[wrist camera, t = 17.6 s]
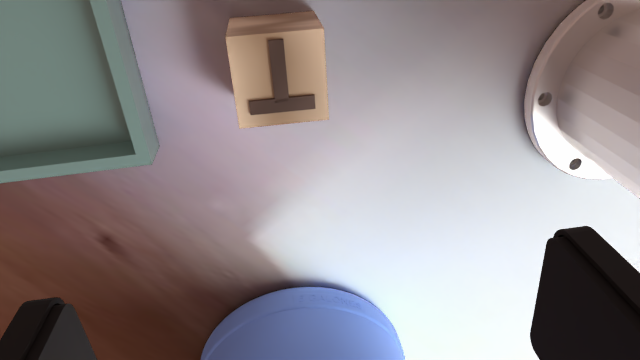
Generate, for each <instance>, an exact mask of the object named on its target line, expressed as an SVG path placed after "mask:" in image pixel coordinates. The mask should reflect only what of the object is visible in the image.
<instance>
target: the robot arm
mask: <svg viewBox="0 0 640 360" xmlns="http://www.w3.org/2000/svg"><path fill="white" fill-rule="evenodd" d="M524 109H525V122H526V126H527V130H528V134H529V136H530V138H531V140H532V142H533V144H534V146H535V148H536V149H537V150H538V151H539V152H540V153H541V155H542V156H543V157H544V158H545V159H546V160H548V161H549V162H550V163H551V164H553V165H554V166H555V167H556V168H557V169H559V170H561V171H563V172H565V173H566V174H569V175H572V176H576V177H580V178H584V179H600V180H602V179H609V178H613V179H614V180H616V181H617V182H618V183H620V184H621V185H622V186H624V187H625V188H626V189H628V190H629V191H630V192H632V193H633V194H634V195H636V196H637V197H638V198H640V0H586V1H585V2H583V3H582V4H581V5H579V6H578V7H577V8H576V9H575V10H574V11H572V12H571V13H570V14H569V15H568V16H567V17H566V18H565V19H564V20H563V21H562V22H561V23H560V24H559V26H558V27H557V28H556V30H555V31H554V32H553V33H552V35H551V36H550V37H549V39H548V40H547V41H546V43H545V45H544V46H543V48H542V50H541V52H540V54H539V55H538V57H537V59H536V61H535V63H534V66H533V68H532V71H531V74H530V77H529V79H528V83H527V89H526V94H525V100H524ZM530 338H531V343H532V346H533V349H534V351H535V353H536V354H537V356H538V358H539V359H540V360H640V273H639V272H638V271H637V270H636V269H635V268H634V267H633V266H632V265H631V264H630V263H628V262H627V261H626V260H625V259H624V258H623V257H622V256H621V255H620V254H619V253H618V252H617V251H616V250H615V249H614V248H613V247H612V246H611V245H610V244H609V243H607V242H606V241H605V240H604V239H603V238H602V237H601V236H600V235H599V234H598V233H597V232H596V231H595V230H594V229H592V228H591V227H588V226H583V227H575V228H568V229H560V230H558V231H557V232H556V233H555V234H554V237H553V238H550V239H549V240H548V241H547V244H546V249H545V255H544V260H543V266H542V271H541V277H540V282H539V288H538V293H537V299H536V304H535V310H534V315H533V321H532V326H531V332H530ZM0 360H97V358H96V356H95V354H94V352H93V349H92V347H91V345H90V342H89V340H88V338H87V336H86V333H85V331H84V329H83V327H82V324H81V322H80V320H79V318H78V315H77V313H76V311H75V309H74V307H73V306H72V305H71V304H65V303H64V302H63V300H62V299H60V298H48V299H41V300H33V301H27V302H25V303H23V304H22V305H21V307H20V308H19V310H18V311H17V313H16V315H15V316H14V318H13V320H12V321H11V323H10V325H9V326H8V328H7V330H6V331H5V333H4V335H3V336H2V338H1V340H0Z"/></svg>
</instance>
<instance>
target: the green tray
mask: <svg viewBox="0 0 640 360" xmlns="http://www.w3.org/2000/svg"><path fill="white" fill-rule="evenodd" d="M158 149H159V142H158V138H157V135H156V131H155V127H154V123H153V120H152V116H151V112H150V109H149V105H148V101H147V97H146V94H145V90H144V86H143V83H142V79H141V75H140V71H139V68H138V64H137V60H136V57H135V53H134V49H133V45H132V42H131V38H130V34H129V30H128V27H127V23H126V19H125V16H124V12H123V8H122V4H121V1H120V0H0V183H6V182H14V181H22V180H30V179H38V178H46V177H54V176H62V175H70V174H78V173H87V172H95V171H103V170H111V169H119V168H127V167H135V166H143V165H151V164H152V163H153V161H154V158H155V156H156V154H157V151H158Z"/></svg>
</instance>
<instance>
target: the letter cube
mask: <svg viewBox="0 0 640 360" xmlns="http://www.w3.org/2000/svg"><path fill="white" fill-rule="evenodd" d="M225 38H226V45H227V51H228V58H229V64H230V71H231V77H232V84H233V90H234V97H235V103H236V110H237V116H238V123H239V129H241V128H251V127H261V126H270V125H280V124H290V123H300V122H310V121H319V120H329V112H328V94H327V76H326V58H325V40H324V28H323V26H322V24H321V23H320V21H319V19H318V17H317V16H316V14H315V12H314V11H306V12H294V13H282V14H271V15H259V16H247V17H236V18H229V23H228V27H227V32H226V36H225Z"/></svg>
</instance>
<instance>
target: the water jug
mask: <svg viewBox="0 0 640 360" xmlns="http://www.w3.org/2000/svg"><path fill="white" fill-rule="evenodd" d="M201 360H405V356H404V352H403V349H402V346H401V343H400V340H399V337H398V335H397V332H396V330H395V328H394V327H393V325H392V323H391V322H390V321H389V319H388V318H387V317H386V316H385V315H384V314H383V313H382V312H381V311H380V310H379V309H378V308H377V307H375V306H374V305H373V304H371V303H370V302H368V301H366V300H364V299H362V298H360V297H358V296H356V295H354V294H351V293H348V292H345V291H341V290H337V289H331V288H324V287H297V288H289V289H284V290H279V291H275V292H272V293H268V294H265V295H263V296H260V297H258V298H255V299H253V300H251V301H249V302H247V303H245V304H244V305H242V306H240V307H239V308H237V309H236V310H234V311H233V312H232V313H230V314H229V315H228V316H227V317H226V318H225V319H224V320H223V321H222V322H221V323H220V324H219V325H218V326H217V327H216V328H215V330H214V331H213V332H212V334H211V335H210V337H209V339H208V340H207V342H206V344H205V347H204V349H203V352H202V355H201Z"/></svg>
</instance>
